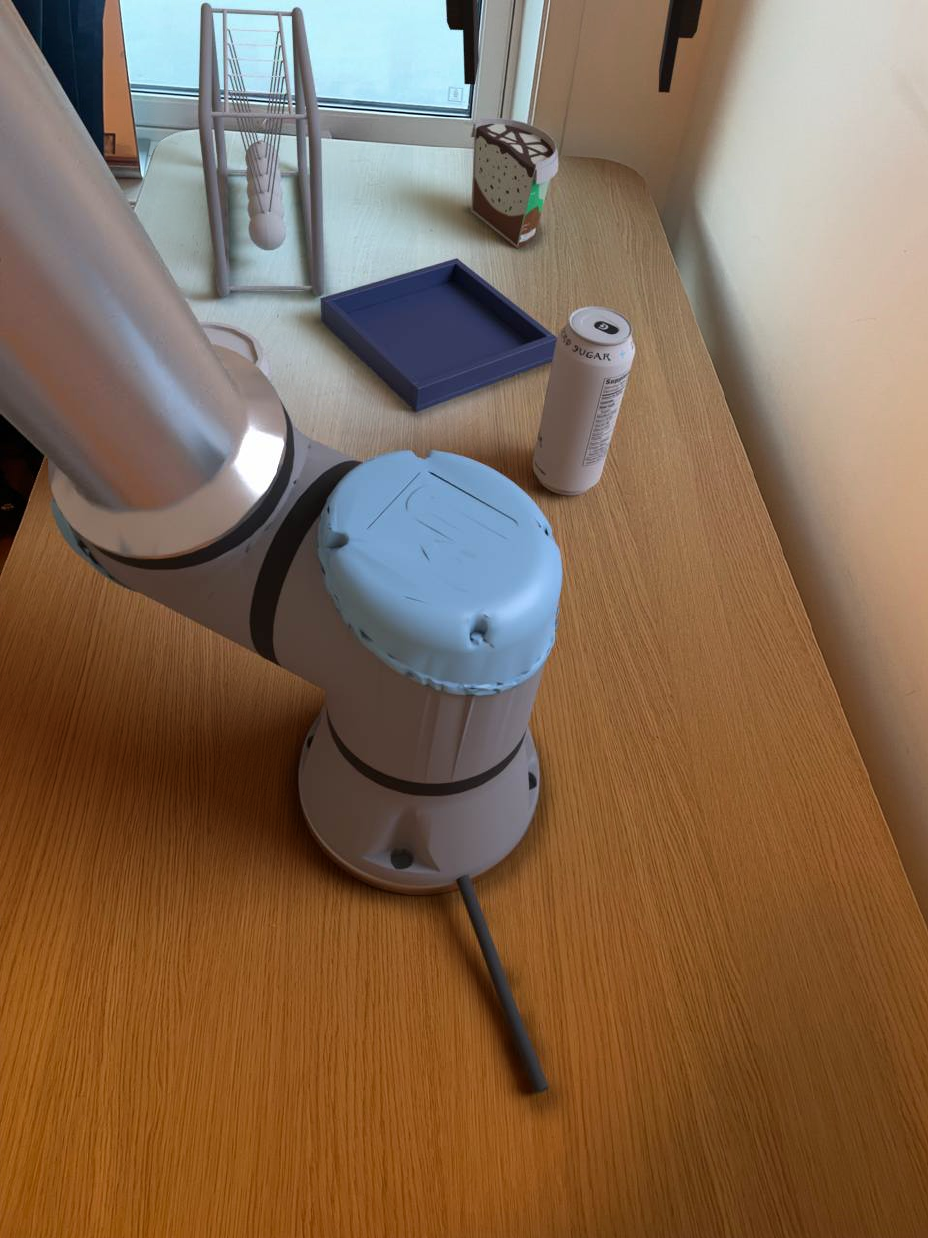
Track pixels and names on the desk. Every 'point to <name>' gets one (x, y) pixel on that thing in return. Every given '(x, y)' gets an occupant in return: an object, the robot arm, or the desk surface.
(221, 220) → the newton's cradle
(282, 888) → the desk surface
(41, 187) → the robot arm
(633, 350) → the energy drink can
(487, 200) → the food container
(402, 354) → the navy tray
